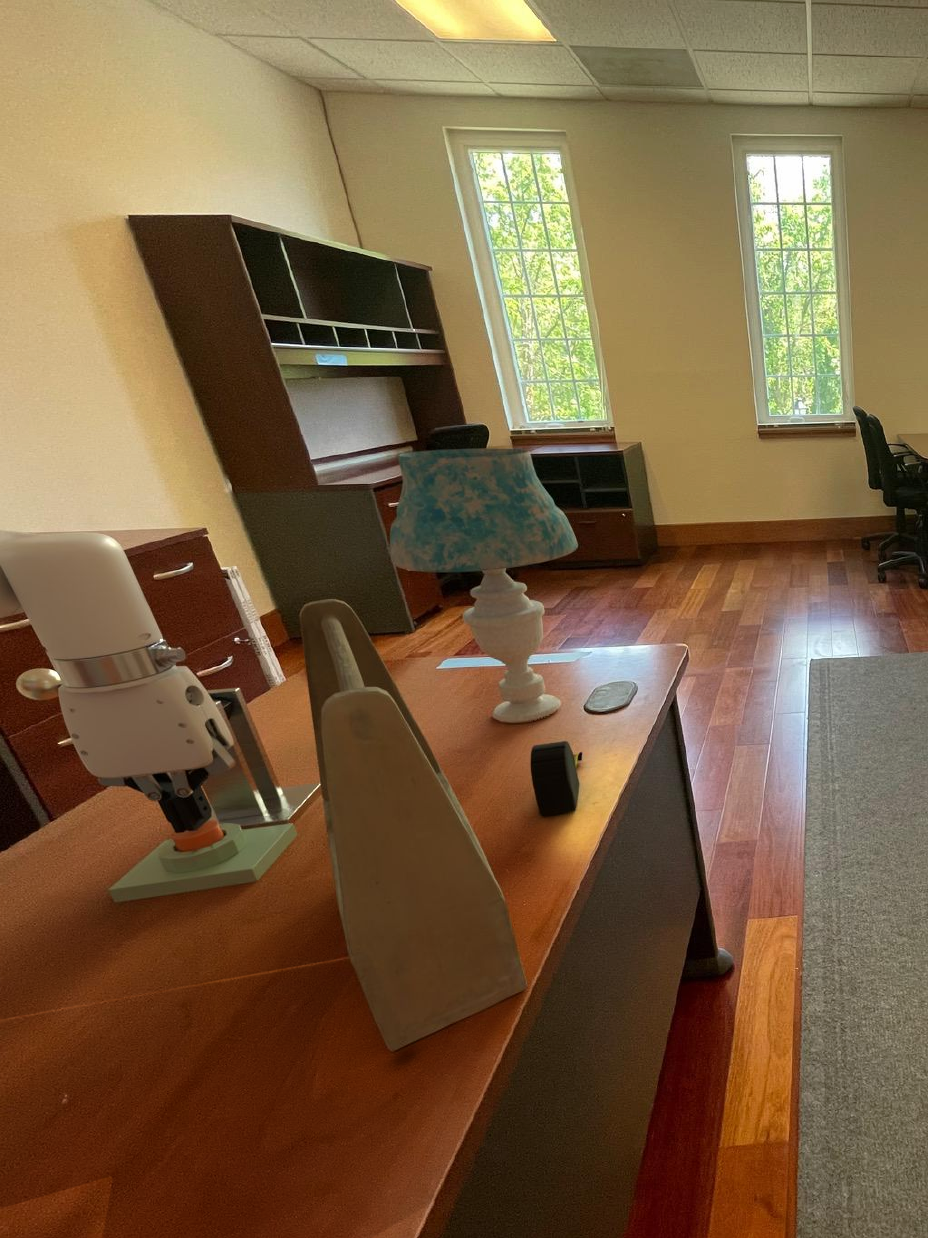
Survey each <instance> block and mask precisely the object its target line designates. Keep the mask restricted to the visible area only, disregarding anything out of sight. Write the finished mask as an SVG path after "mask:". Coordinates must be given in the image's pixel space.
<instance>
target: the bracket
mask: <svg viewBox="0 0 928 1238" xmlns="http://www.w3.org/2000/svg"><path fill="white" fill-rule="evenodd" d="M206 691H207V692H208V694H209V695H210V697H211V698H213V699H219V700H225V701H231V702H232V705H231V717H230V720H229V721H228V718H227V716H226V714H225V711H224V709H223V707H222V704H221V702H220V701H213V702H214V703H215V705H216V707H217V708H218V710H219V712H220V714H221V716H222V717H223V719H224V721H225V723H226V725H227V727H228V729H229V731H230V733H231V736H232V738H233V742H234V744H233V746H232V747H231V748H229V749H227V750H226V751H227V752H228V753H229V754H230V756H231V757H232V758H233V759H234V761H235V765H234V766H233V767H232V768H231V769H229V770H228V771H226V772H223V773H220V774H217V775H214V776H210V777H208V779H207V780H206V782H205V783H204V784H203V785H202V786H201V787H202V790H203V792H204V794H205V796H206V798H207V800H208V802H209V804H210V807H211V809H212V813H211V814H212V816H211V818H210V819H209V820H213V821H217V822H218V824H222V823H231V824H237V825H240V827H241V829H242V830H245V829H253V828H260V827H268V826H275V825H283V824H290V823H293V825H294V826H295V824H296V823H297V821H299V819H300V818H301V817H302V816H303V815H304V814H305V812H306V811H307V810H308V809H309V808H310V807H311V806H312V804H314V802H316V800H317V799H318V798H319V797H320V796H321V795H322V793H321V784H320V782H314V783H307V784H299V785H290V786H281V785H280V783H279V780H278V778H277V776H276V773H275V770H274V767H273V766H272V763H271V760H270V758H269V756H268V754H267V751H266V749H265V746H264V744H263V741H262V739H261V736H260V734H259V732H258V729H257V726H256V725H255V721H254V719H253V717H252V715H251V712H250V709H249V708H248V704H247V702H246V700H245V697H244V696H243V694H242V690H241V688H240V687H232V688H230V687H229V688H219V689H208V690H207V689H206Z"/></svg>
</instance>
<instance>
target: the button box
mask: <svg viewBox="0 0 928 1238" xmlns="http://www.w3.org/2000/svg"><path fill="white" fill-rule="evenodd" d="M219 826H220V828H221V830H222V832H223V835H224V837H223V838H222V839H221V840H220V841H218V842H216V843H214V844H212V845H210V846H207V847H204V848H201V849H198V850H194V851H187V852H180V851H179V850H178V848H177V846H176V844H175V842H174V840H173V838H171V839H165V840H163V841H162V842H161V843H160V844H159V845H158V846H157V847H155V848H154V849H153V850H152V851H151V852H150V853H148V854H147V855H146V856H145V857H144V858H143V859H142V860H140V861H139V862H138V863H136V865H135V866H133V867H132V868H131V869H130V870H129V871H128V872H127V873H126V874H124V875H123V876H122V877H121V878H120V879H118V881H116V882H115V883H114V884H113V885H112V886H111V887H109V888H108V893H109V894H110V897H111V898H112V900H113V902H114V903H122V902H129V901H136V900H142V899H150V898H155V897H163V896H169V895H176V894H183V893H189V892H195V891H202V890H208V889H216V888H222V887H229V886H235V885H241V884H248V883H255V882H256V883H257V882H258V881H259V880H260V879H261V878H262V877H263V876H264V874H265V873H266V872H268V870H269V869H270V867H271V866H273V864H274V863H275V862H276V861H277V859H278V858H279V857H280V856H281V855H282V854H283V853H284V851H286V849H287V848H288V846H289V845H291V843H292V842H293V841H294V840H295V839H296V838H297V836H298V833H297V830H296V827H295V824H294V825H293V823H290V824H283V825H275V826H268V827H260V828H253V829H245V830H242V829H241V827H240V825H237V824H231V823H222V824H219Z"/></svg>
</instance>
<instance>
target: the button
mask: <svg viewBox="0 0 928 1238" xmlns="http://www.w3.org/2000/svg"><path fill="white" fill-rule="evenodd" d="M223 837H224V835H223V832H222V830H221V828H220V826H219V824H218V822H217V821H213V820H208V821H207V822H205V823H204V824H203V825H202V826H201V827H200V828H199V829H198V830H196V831H188V830H186V831H185V832H182V833H176V832H175V831H174V832H173V833H172V834H171V839H173V840H174V842H175V844H176V846H177V848H178V850H179V851H180V852H187V851H194V850H198V849H201V848H204V847H207V846H210V845H212V844H214V843H216V842H218V841H220V840H221V839H222V838H223Z"/></svg>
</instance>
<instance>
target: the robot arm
mask: <svg viewBox="0 0 928 1238" xmlns="http://www.w3.org/2000/svg"><path fill="white" fill-rule="evenodd" d="M144 594H145V593H144V592H143V590H142V588H141V585H140V583H139V581H138V579H137V577H136V575H135V572H134V570H133V568H132V566H131V563H130V561H129V559H128V557H127V554H126V553H125V550H124V549H123V547H122V545H121V543H119V542H118V541H117V540H116V539H114V537H112V536H109V535H107V534H104V533H100V532H99V533H98V532H91V531H87V532H86V531H81V532H79V531H78V532H77V531H75V532H73V531H72V532H59V533H49V534H47V533H46V534H40V533H32V532H31V533H30V532H23V531H15V530H3V529H2V530H0V619H3V618H7V617H10V616H14V615H18V614H23V613H25V616H26V618H27V619H28V621H29V624H30V625H31V627H32V629H33V631H34V632H35V635H36V637H37V638H38V640H39V642H40V644H41V646H42V648H43V650H44V652H45V653H46V655H47V657H48V659H49V661H50V663H51V665H52V667H53V669H54V671H56V672H57V674H58V676H59V678H60V680H61V682H62V684H63V685H61V686H60V687H59V688H58V693H59V696H58V700H59V706H60V709H61V714H62V718H63V720H64V724H65V726H66V729H67V733H68V734H69V737H70V739H71V742H72V745H74V748H75V751H76V753H77V754H78V757H79V759H80V760H81V762H82V764H83V765H84V767H85V768H86V770H87V771H88V772H89V773H90V774H91V775H92V776H94V777H96V778H97V782H98V783H99V784H100V785H101V786H104V787H122V788H124V787H128V788H129V789H132V790H135V791H138V792H140V793H142V794H143V795H145V797H146V799H148V801H151V802H157V803H158V805H159V807H160V809H161V811H162V813H163V815H164V817H165V819H166V821H167V822H168V823H169V824H170V825H171V826H172V829H173V831H174V833H175V832H176V833H182V832H185V831H186V830H188V831H196V830H198V829H199V828H200V827H201V826H202V825H203V824H204V823H205V822H207V821H208V820H209V819H210V818H211V816H212V814H211V813H212V809H211V807H210V804H209V803H210V802H209V799H208V797H207V795H206V793H205V791H204V789H203V786H202V785H203V784H204V783H205V782H206V780H207V779H208V777H210V776H214V775H217V774H220V773H223V772H226V771H228V770H229V769H231V768H232V767H233V766H234V765H235V761H234V759H233V758H232V757H231V756H230V754H229V753H228V752H227V751H226V750H227V749H229V748H231V747H232V746H233V744H234V742H233V738H232V736H231V733H230V731H229V729H228V727H227V725H226V723H225V721H224V719H223V717H222V716H221V714H220V712H219V710H218V708H217V707H216V705H215V703H214V702H213V700H212V699H211V697H210V695H209V694H208V692H207V689H206V688H205V687H204V685H203V684H202V682H201V681H200V680H199V679H198V677H197V676H196V675H195V674H194V673H193V672H192V670H191V669H190V668H189V667H188V666H187V665H178V666H177V663H178V662H179V663H180V662H184V661H185V660H186V659H187V655H186V654H187V653H186V651H185V650H184V649H183V648H182V647H170V645H169V644H168V641H167V639H164V637H163V634H162V632H161V629H160V628H159V626H158V624H157V621H156V619H155V617H154V614H153V612H152V610H151V607H150V605H149V603H148V601H147V599H146V596H145V595H144Z"/></svg>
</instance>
